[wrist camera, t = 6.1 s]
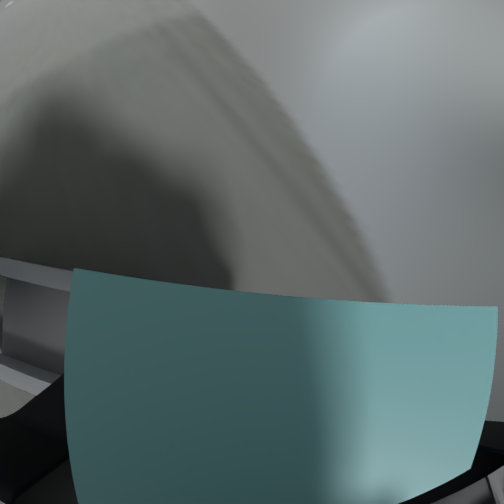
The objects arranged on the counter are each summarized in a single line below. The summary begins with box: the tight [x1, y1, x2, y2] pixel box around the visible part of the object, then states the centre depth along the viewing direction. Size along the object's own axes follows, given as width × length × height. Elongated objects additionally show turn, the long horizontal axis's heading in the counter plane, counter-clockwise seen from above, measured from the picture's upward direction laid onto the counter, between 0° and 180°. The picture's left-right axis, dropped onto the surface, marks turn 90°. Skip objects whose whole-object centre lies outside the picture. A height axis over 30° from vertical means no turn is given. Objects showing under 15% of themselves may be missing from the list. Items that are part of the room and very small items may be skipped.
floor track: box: [0, 257, 73, 395], centre depth 15 cm, size 12×9×4 cm
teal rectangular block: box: [64, 268, 498, 504], centre depth 9 cm, size 6×3×13 cm, turn 85°
